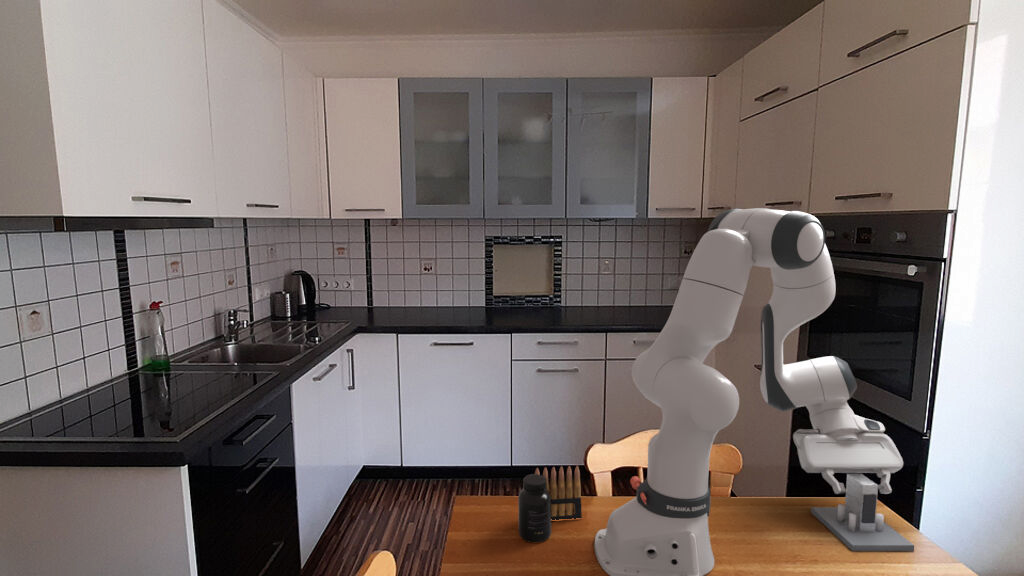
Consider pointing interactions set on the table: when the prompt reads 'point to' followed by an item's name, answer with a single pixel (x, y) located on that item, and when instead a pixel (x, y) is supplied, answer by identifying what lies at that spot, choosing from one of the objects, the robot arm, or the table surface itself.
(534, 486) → the supplement bottle
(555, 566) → the table surface
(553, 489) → the ammunition clip
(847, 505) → the block
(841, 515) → the pin tray
